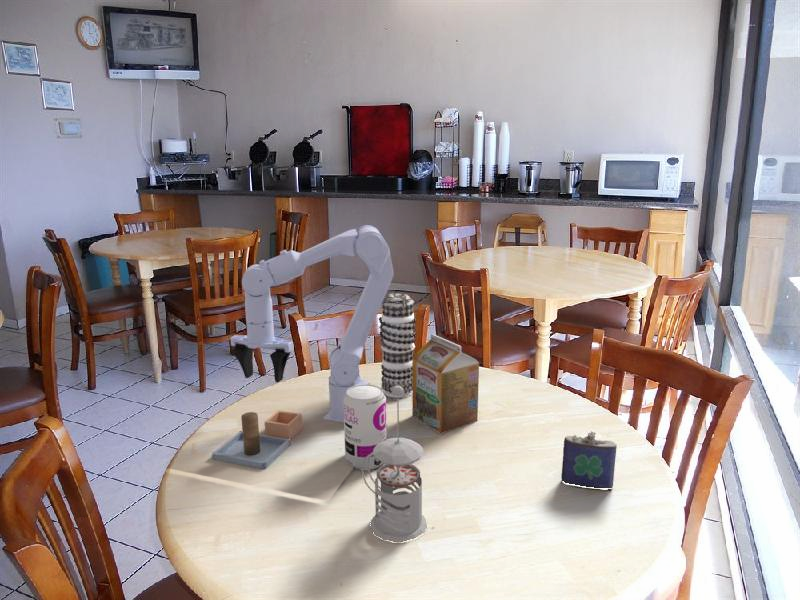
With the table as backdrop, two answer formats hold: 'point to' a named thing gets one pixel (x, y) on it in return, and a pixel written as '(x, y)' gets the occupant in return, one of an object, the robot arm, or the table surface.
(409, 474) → the french press
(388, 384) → the decorative candle
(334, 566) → the table surface
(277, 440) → the tray
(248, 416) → the dowel
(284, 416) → the hollow square block
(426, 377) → the milk carton
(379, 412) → the supplement can
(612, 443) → the flask
